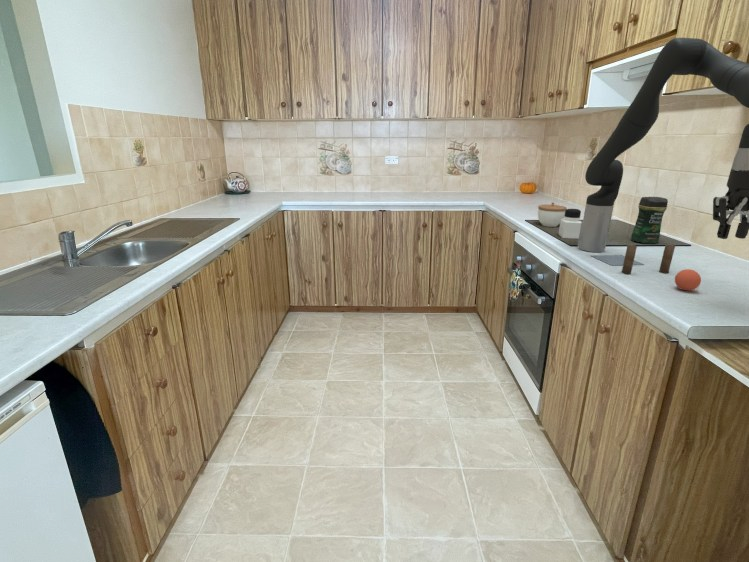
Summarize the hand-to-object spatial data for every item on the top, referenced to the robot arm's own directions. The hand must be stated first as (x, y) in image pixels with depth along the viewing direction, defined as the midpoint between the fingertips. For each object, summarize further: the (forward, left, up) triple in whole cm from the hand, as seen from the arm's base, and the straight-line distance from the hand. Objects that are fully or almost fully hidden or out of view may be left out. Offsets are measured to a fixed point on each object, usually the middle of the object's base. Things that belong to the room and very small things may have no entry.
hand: (730, 237), depth 107 cm
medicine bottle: (-75, +3, -18) cm, 77 cm away
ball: (-9, 0, -14) cm, 17 cm away
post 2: (-25, +6, -17) cm, 31 cm away
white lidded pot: (-99, +7, -18) cm, 101 cm away
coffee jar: (-64, +30, -18) cm, 73 cm away
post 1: (-25, -7, -17) cm, 31 cm away
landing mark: (-39, 0, -17) cm, 43 cm away
